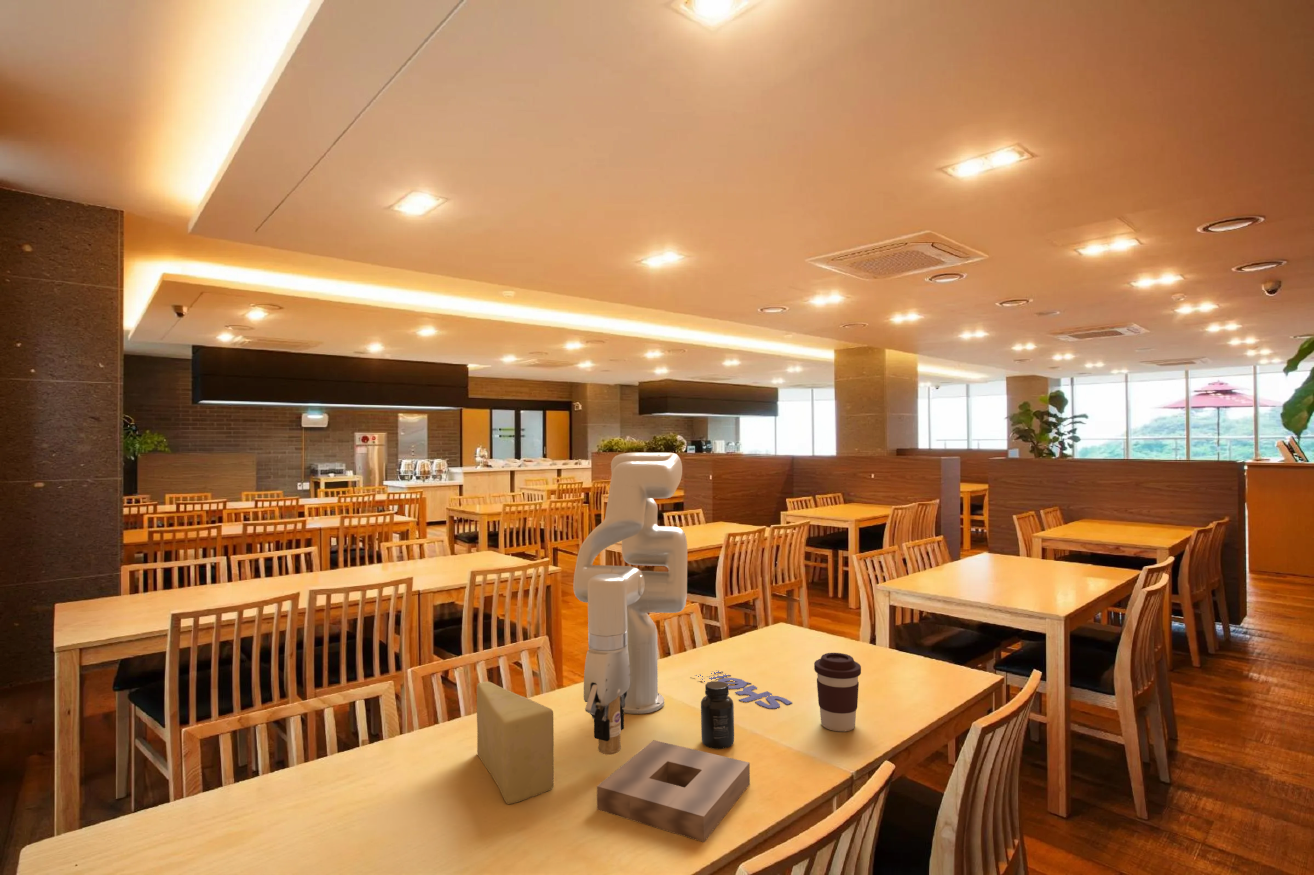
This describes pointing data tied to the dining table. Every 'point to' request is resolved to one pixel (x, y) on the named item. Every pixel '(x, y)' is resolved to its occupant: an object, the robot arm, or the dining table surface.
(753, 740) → the dining table surface
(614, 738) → the sprinkles bottle
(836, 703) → the coffee cup
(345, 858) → the dining table surface
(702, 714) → the supplement bottle
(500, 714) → the cheese
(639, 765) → the walnut holder
